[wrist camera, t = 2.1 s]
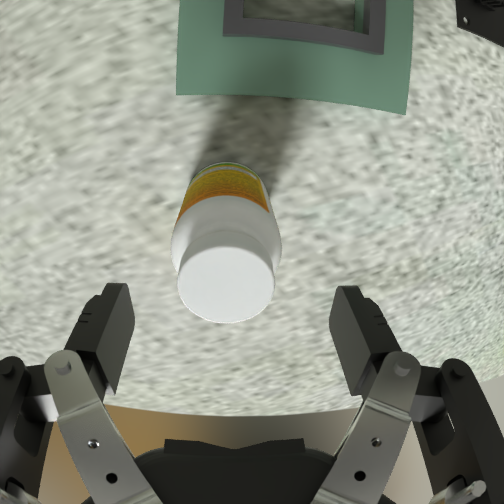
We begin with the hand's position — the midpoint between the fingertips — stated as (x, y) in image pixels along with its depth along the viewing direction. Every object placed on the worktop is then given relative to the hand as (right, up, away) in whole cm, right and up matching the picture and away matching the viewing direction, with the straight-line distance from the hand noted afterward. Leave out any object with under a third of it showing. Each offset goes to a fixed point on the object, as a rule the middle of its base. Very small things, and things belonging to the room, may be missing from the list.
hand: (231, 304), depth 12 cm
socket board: (+4, +18, +2) cm, 19 cm away
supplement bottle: (-1, +6, +9) cm, 11 cm away
